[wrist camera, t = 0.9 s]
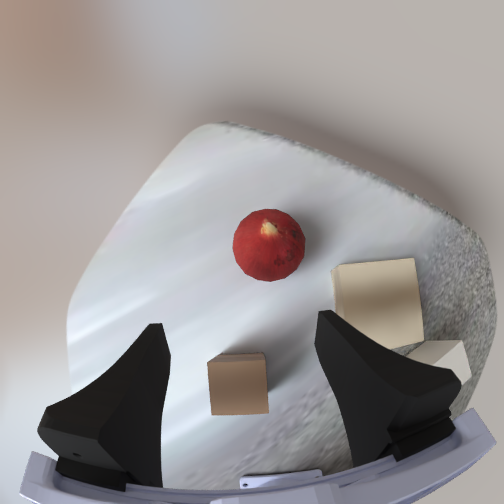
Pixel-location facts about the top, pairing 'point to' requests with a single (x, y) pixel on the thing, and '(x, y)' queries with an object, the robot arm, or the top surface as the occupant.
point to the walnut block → (238, 384)
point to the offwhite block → (444, 356)
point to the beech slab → (380, 300)
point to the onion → (268, 245)
